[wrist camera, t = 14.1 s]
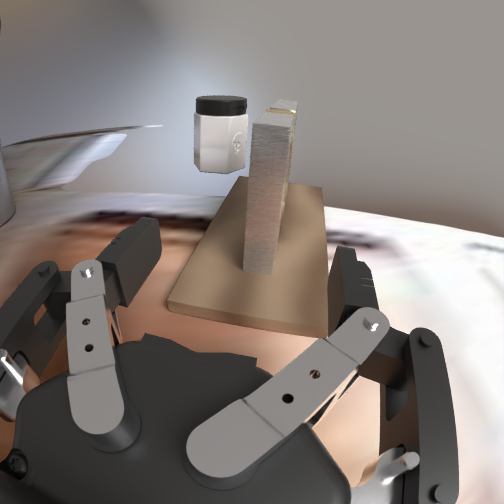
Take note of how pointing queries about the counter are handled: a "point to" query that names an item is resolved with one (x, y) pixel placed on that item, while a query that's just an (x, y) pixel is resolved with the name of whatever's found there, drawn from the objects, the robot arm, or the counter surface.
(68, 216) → the counter surface
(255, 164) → the brushed metal block
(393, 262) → the counter surface
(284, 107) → the fixed leaf
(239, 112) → the jar
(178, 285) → the jig board
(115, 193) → the counter surface
